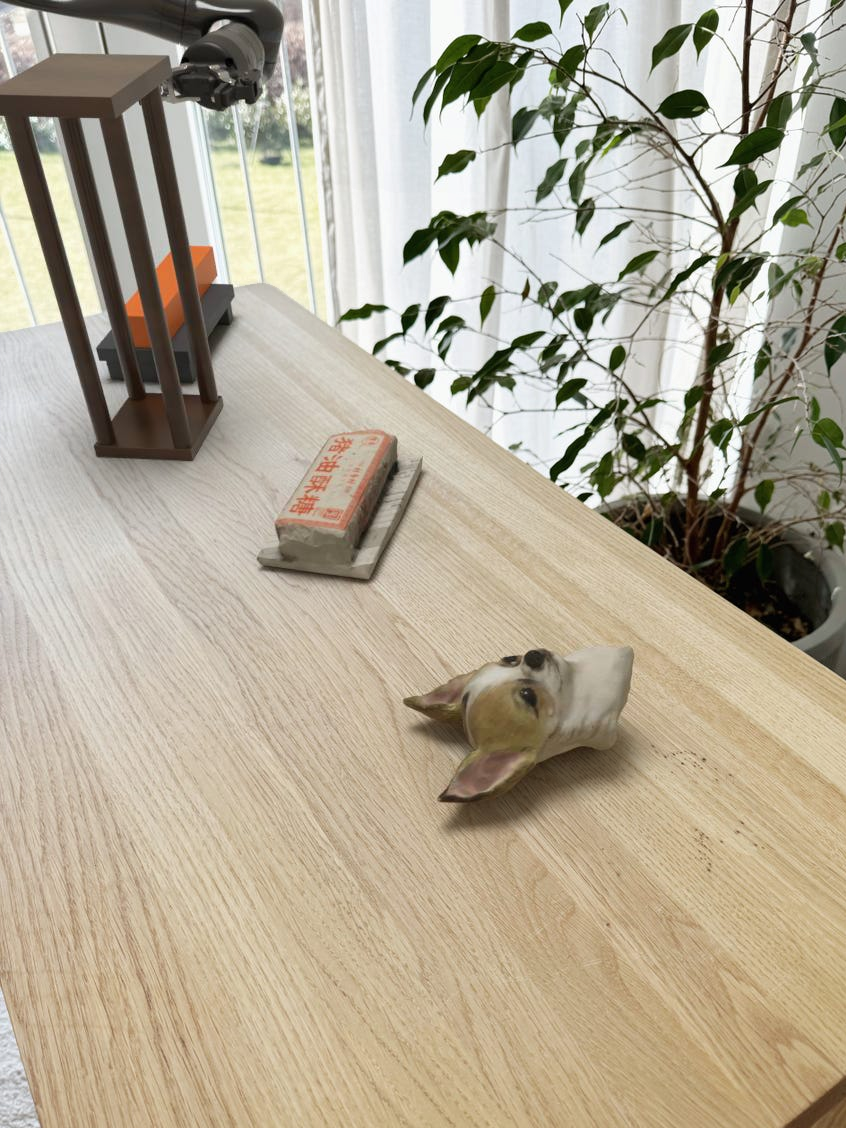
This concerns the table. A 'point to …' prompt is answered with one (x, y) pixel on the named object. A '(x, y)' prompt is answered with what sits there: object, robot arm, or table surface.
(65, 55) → the tall stand
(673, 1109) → the table surface
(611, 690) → the ceramic sculpture
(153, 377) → the low shelf
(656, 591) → the table surface
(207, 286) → the orange block
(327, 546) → the packaged product
